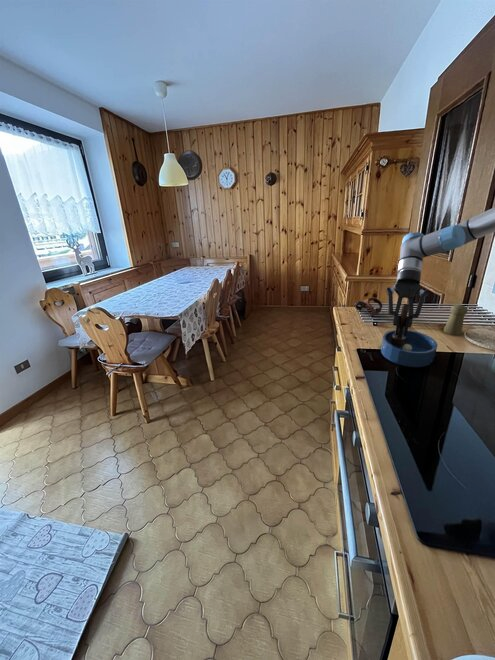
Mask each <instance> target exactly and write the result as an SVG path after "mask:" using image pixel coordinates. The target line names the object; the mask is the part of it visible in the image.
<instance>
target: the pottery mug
mask: <svg viewBox="0 0 495 660" xmlns="http://www.w3.org/2000/svg"><path fill="white" fill-rule="evenodd" d="M371 301H373V303H376V304H378V307H374V306H373V305H372V304H371ZM354 308H355V309H356V310H357V311H358V312H359V313H361V312H362V311H363V309H365V310H369V311H370V314H369V316H370V317H375V316H376V315H378V314H380V313H381V312H382V308H383V303H382V302H381V300H379V298H376V297H369V298H367V299H364V300H362V301H361V300H357V301H356V302H355V303H354ZM374 308H375V309H374Z"/></svg>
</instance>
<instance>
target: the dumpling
mask: <svg viewBox="0 0 495 660" xmlns="http://www.w3.org/2000/svg"><path fill="white" fill-rule="evenodd" d="M402 349H403V350H406V351H411V350H412V347H411V345H409V344H405V345H403V347H402Z"/></svg>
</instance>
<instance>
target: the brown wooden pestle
mask: <svg viewBox="0 0 495 660" xmlns="http://www.w3.org/2000/svg"><path fill="white" fill-rule="evenodd" d="M400 310H401V311H400V314H399V315H400V316H401V317H400V324H399V331H398V335H397V336H396V335H395V334H393V335H392V339H391V344H392V345H394V346H399V347H401V346H403V345H404V344H405V340H406V337H403V331H404V327H405V322H406V318H407V316H408V310H409V305H408V303H404V304H402V305H401V309H400Z"/></svg>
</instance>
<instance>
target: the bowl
mask: <svg viewBox="0 0 495 660" xmlns="http://www.w3.org/2000/svg"><path fill="white" fill-rule="evenodd" d="M395 330H396V329H393V330H389V331H387V332H384V334H383V335H382V338H381V339H382V340H381V344H380V353H381V355H382V356H383V357H384V358H385V359H386V360H388V361H390V362H392V363H394V364H395V365H400V366H404V367H409V368H424V367H428V366H430V365H431V364H433V362H434V360H435V356H436V353H437V349H438V345H439V344H438V342H437V341H436V340H435V339H434V338H433V337H431V336H429V335H427V334H426V333H422V332H419V331H415V330H410V329H408V331H407V336H406V340H405V344H409V345H411V347H412V350H411V351H406V350H403V349H402V347H403V346H401V347H399V346H394V345H392V344H391V339H392V335H393V334H395ZM403 335H404V331H403ZM405 344H404V345H405Z"/></svg>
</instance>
